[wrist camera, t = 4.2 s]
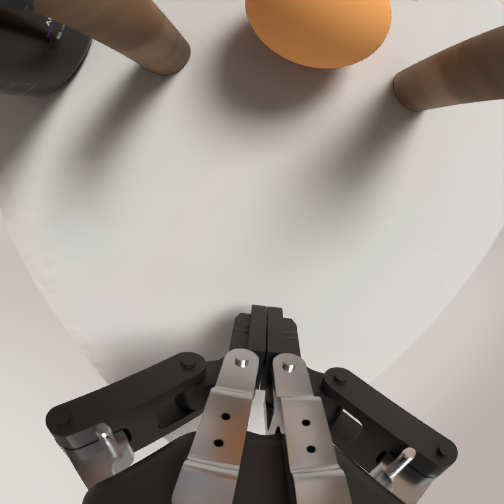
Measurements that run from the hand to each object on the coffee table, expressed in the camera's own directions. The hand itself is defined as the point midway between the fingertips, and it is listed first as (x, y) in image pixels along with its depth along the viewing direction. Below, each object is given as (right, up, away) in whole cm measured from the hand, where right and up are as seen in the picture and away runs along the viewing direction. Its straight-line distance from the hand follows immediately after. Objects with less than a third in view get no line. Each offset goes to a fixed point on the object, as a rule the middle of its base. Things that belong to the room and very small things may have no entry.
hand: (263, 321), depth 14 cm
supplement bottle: (-13, +17, -3) cm, 21 cm away
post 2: (+8, +12, -3) cm, 15 cm away
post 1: (-5, +14, -3) cm, 15 cm away
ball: (+2, +13, -6) cm, 15 cm away
